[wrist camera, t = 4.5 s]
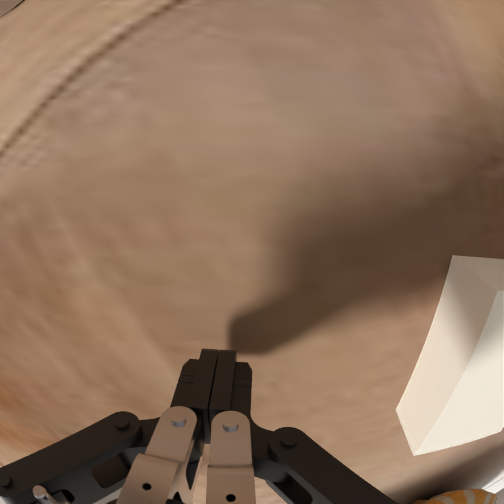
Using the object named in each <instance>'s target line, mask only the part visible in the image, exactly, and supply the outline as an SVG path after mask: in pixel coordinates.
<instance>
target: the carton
mask: <svg viewBox="0 0 504 504" xmlns="http://www.w3.org/2000/svg"><path fill="white" fill-rule="evenodd" d="M396 412H397V414H398V417H399V420H400V422H401V425H402V427H403V430H404V432H405V435H406V438H407V440H408V443H409V446H410V448H411V451H412V454H413V456H415V455H420V454H425V453H429V452H433V451H438V450H442V449H446V448H450V447H453V446H457V445H460V444H464V443H467V442H471V441H474V440H477V439H480V438H483V437H486V436H489V435H492V434H495V433H498V432H501V430H502V429H503V427H504V259H494V258H482V257H469V256H456V255H452V259H451V263H450V266H449V270H448V274H447V277H446V281H445V284H444V288H443V291H442V295H441V298H440V301H439V304H438V307H437V310H436V313H435V316H434V319H433V322H432V325H431V328H430V331H429V333H428V336H427V339H426V342H425V344H424V347H423V349H422V352H421V354H420V357H419V359H418V362H417V364H416V367H415V369H414V371H413V374H412V376H411V378H410V381H409V383H408V385H407V387H406V389H405V392H404V394H403V396H402V398H401V400H400V402H399V404H398V406H397V408H396Z"/></svg>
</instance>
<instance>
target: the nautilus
mask: <svg viewBox="0 0 504 504" xmlns="http://www.w3.org/2000/svg"><path fill="white" fill-rule="evenodd" d="M496 499H497V495H496V494H493V493H490V492H488V491H485V490H483V489H460V490H454V491H449V492H446V493H443V494H440V495H437V496H433V497H432V498H431V499H430V500H417V501H415V502H414V503H413V504H495V502H496Z"/></svg>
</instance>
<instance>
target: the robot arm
mask: <svg viewBox="0 0 504 504" xmlns="http://www.w3.org/2000/svg"><path fill="white" fill-rule="evenodd" d="M21 1H23V0H0V17H1V16H3V15H4V14H6V13H7V12H9V11H10V10H12V9H13V8H14V7H15V6H16V5H18V4H19V3H20V2H21ZM251 388H252V369H251V368H250V366H249V364H248V363H246V362H237V352H236V351H233V350H220V351H219V350H215V349H202V351H201V355H200V358H199V360H197V359H189V360H188V361H187V362H186V363H185V364H184V365H183V367H182V371H181V374H180V377H179V380H178V383H177V387H176V390H175V393H174V396H173V400H172V403H171V406H170V408H168V409H167V410H165V411H164V412H163V413H162V415H161V417H158V418H155V419H148V420H139V419H138V418H137V416H135V415H134V414H132V413H130V412H125V411H121V412H116V413H114V414H112V415H110V416H108V417H106V418H104V419H102V420H100V421H98V422H96V423H94V424H93V425H91V426H89V427H87V428H85V429H83V430H81V431H79V432H77V433H75V434H73V435H71V436H69V437H67V438H65V439H63V440H61V441H59V442H56V443H54V444H52V445H50V446H48V447H46V448H44V449H42V450H39V451H37V452H35V453H33V454H31V455H29V456H26V457H24V458H22V459H20V460H17V461H15V462H13V463H10V464H8V465H6V466H3V467H1V468H0V497H1V498H2V499H3V500H4V501H5V503H6V504H94V503H95V502H97V501H99V500H101V499H103V498H105V497H106V496H108V495H110V494H112V493H113V492H115V491H117V490H119V489H120V488H122V487H123V488H122V490H121V492H120V495H119V497H118V498H117V499H114V500H112V501H109V502H108V503H106V504H193V493H194V489H195V485H196V481H197V478H198V474H199V470H200V467H201V463H202V459H203V456H202V454H203V449H204V444H210V463H209V465H208V471H207V491H206V504H256V498H255V483H254V477H258V478H261V479H264V480H265V481H266V483H267V484H268V485H269V486H270V487H271V488H272V489H273V490H274V491H275V492H276V493H277V494H278V495H279V496H280V497H281V498H282V499H283V500H284V501H285V502H286V503H287V504H398V503H397V502H395V501H394V500H392V499H391V498H389V497H388V496H386V495H385V494H383V493H382V492H380V491H379V490H378V489H376V488H375V487H373V486H372V485H371V484H369V483H368V482H366V481H365V480H364V479H362V478H361V477H360V476H358V475H357V474H355V473H354V472H353V471H351V470H350V469H349V468H347V467H346V466H345V465H344V464H342V463H341V462H340V461H338V460H337V459H336V458H334V457H333V456H332V455H331V454H329V453H328V452H327V451H326V450H324V449H323V448H322V447H321V446H319V445H318V444H317V443H316V442H314V441H313V440H312V439H311V438H310V437H308V436H307V435H306V434H305V433H304V432H302V431H301V430H299V429H297V428H293V427H283V428H279V429H277V430H275V431H274V432H273V431H270V430H266V429H263V428H261V427H259V426H258V425H256V424H255V423H254V422H253V420H252V418H251V415H250V411H251Z"/></svg>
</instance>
